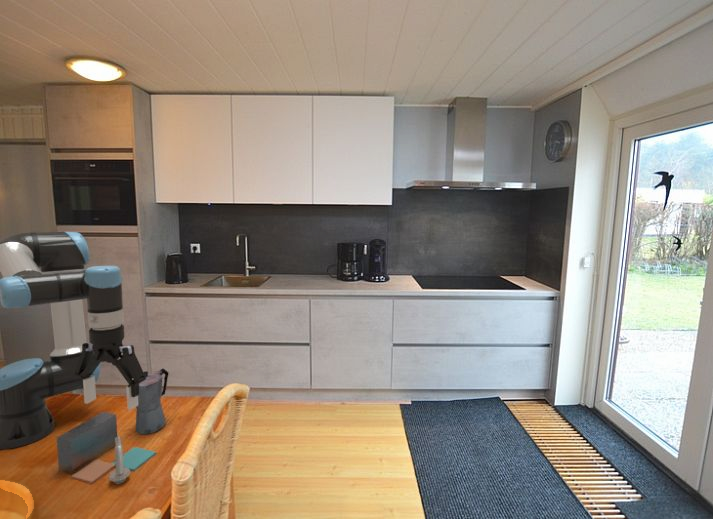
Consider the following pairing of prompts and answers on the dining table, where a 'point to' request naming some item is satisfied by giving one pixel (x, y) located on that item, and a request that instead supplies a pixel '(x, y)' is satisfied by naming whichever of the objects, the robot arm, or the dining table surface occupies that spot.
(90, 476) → the terracotta pad
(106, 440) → the grey unit
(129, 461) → the teal pad
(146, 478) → the dining table surface
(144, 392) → the moka pot
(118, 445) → the screw
